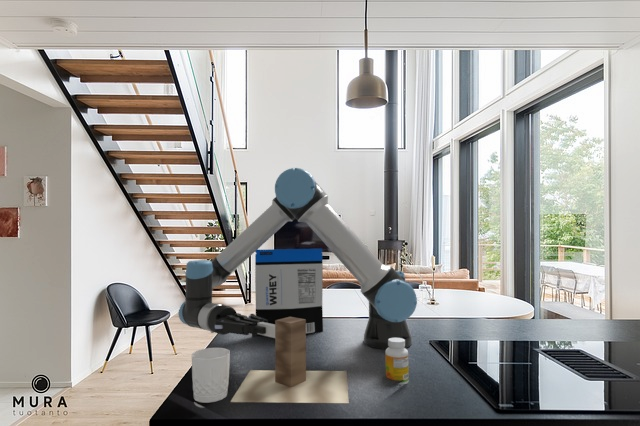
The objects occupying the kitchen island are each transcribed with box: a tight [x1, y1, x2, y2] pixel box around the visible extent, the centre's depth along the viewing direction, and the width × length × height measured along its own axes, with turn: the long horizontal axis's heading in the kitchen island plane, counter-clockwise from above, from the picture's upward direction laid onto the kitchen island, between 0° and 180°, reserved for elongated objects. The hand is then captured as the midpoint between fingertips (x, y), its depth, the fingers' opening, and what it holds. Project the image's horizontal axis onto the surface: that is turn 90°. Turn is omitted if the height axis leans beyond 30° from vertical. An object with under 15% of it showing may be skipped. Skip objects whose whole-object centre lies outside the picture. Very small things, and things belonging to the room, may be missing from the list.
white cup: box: [191, 347, 231, 409], centre depth 80 cm, size 8×8×10 cm
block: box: [274, 317, 307, 387], centre depth 88 cm, size 5×5×14 cm
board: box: [230, 369, 350, 404], centre depth 85 cm, size 24×18×1 cm
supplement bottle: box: [384, 338, 410, 386], centre depth 90 cm, size 5×5×10 cm
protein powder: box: [254, 248, 324, 338], centre depth 135 cm, size 10×24×30 cm, turn 103°
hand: (277, 331), depth 90 cm, fingers closed
